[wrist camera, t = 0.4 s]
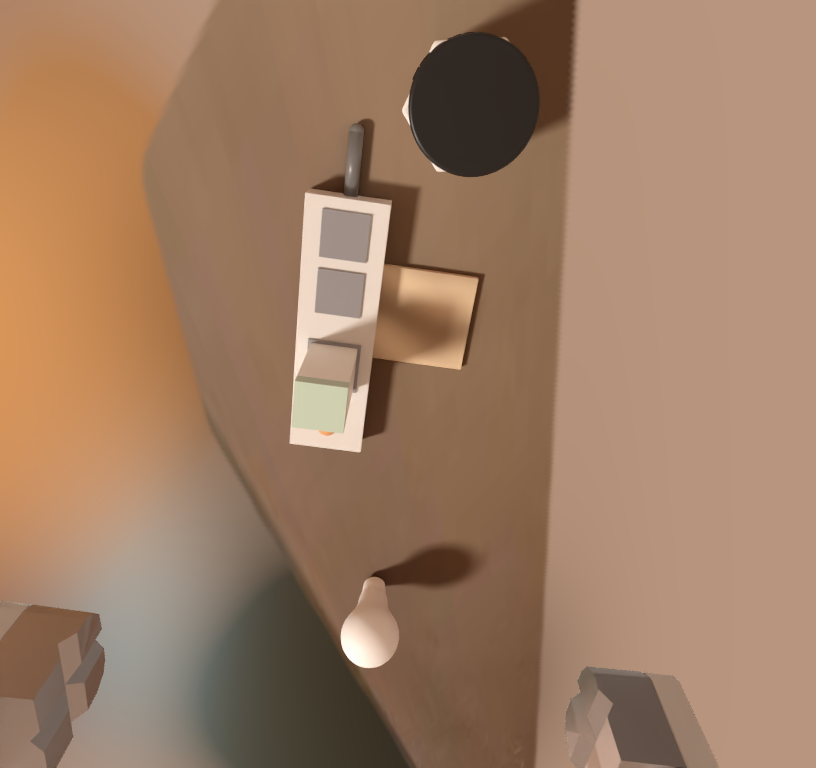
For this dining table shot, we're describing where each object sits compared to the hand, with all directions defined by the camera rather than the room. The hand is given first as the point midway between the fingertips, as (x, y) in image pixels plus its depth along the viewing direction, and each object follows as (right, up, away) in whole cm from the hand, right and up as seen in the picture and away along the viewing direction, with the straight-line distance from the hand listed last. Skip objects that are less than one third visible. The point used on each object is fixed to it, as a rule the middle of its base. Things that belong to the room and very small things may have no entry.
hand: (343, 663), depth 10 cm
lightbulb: (-3, -18, +59) cm, 62 cm away
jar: (+5, +27, +37) cm, 46 cm away
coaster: (+2, +11, +45) cm, 46 cm away
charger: (-6, +6, +44) cm, 45 cm away
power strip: (-5, +13, +44) cm, 46 cm away
